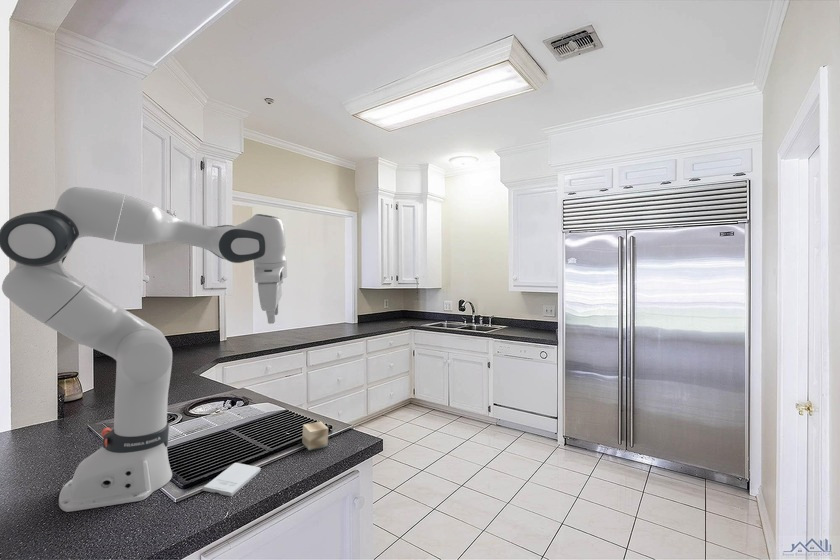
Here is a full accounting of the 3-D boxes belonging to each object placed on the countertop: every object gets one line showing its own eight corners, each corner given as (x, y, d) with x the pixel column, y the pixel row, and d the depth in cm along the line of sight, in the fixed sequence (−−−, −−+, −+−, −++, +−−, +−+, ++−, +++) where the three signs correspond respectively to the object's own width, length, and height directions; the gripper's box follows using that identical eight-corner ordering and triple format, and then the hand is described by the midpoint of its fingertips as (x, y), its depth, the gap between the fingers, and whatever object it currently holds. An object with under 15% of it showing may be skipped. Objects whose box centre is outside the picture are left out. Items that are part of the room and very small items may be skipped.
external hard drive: (260, 473, 114) (231, 498, 102) (234, 467, 115) (202, 492, 103) (260, 467, 114) (231, 492, 101) (234, 462, 115) (202, 486, 103)
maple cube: (309, 451, 127) (310, 432, 126) (302, 442, 132) (303, 424, 131) (327, 446, 130) (328, 428, 130) (319, 439, 135) (321, 421, 135)
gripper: (263, 267, 127) (266, 310, 130) (253, 277, 108) (256, 328, 110) (285, 266, 129) (287, 309, 131) (279, 277, 109) (281, 327, 112)
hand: (273, 318), depth 120 cm, fingers open, 8 cm apart
